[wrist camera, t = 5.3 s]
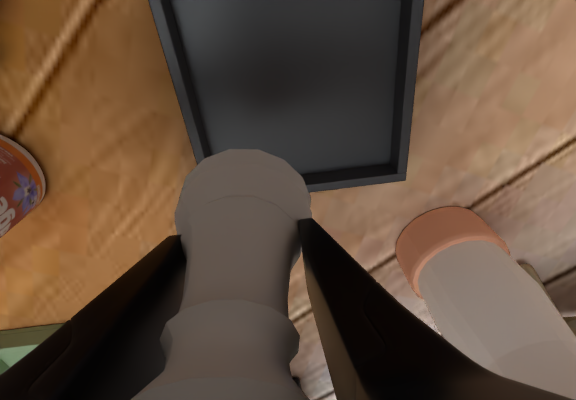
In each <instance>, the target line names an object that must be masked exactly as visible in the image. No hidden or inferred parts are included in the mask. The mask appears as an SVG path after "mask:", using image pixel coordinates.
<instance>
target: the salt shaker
mask: <svg viewBox="0 0 576 400" xmlns="http://www.w3.org/2000/svg"><path fill="white" fill-rule="evenodd" d="M395 251H396V256H397V260H398V262H399V264H400V266H401V268H402V270H403V272H404V274H405V276H406V278H407V280H408V282H409V284H410V286H411V288H412V289H413V291H414V292H415V293H416V294H417V296H418V297H420V298H421V299H423V300H424V302H425V304H426V306H427V308H428V310H429V312H430V314H431V316H432V318H433V320H434V322H435V324H436V326H437V328H438V330H439V332H440V333H441V334H442V336H443V337H444V338H445V340H447V341H448V342H449V343H451V344H452V345H453V346H454V347H456V348H457V349H458V350H460V351H461V352H462V353H463V354H465V355H466V356H467V357H469V358H470V359H471V360H473V361H474V362H476V363H477V364H479V365H481V366H482V367H484V368H486V369H488V370H489V371H491V372H493V373H496V374H498V375H500V376H503V377H505V378H508V379H511V380H515V381H518V382H521V383H524V384H527V385H530V386H533V387H537V388H540V389H543V390H546V391H549V392H552V393H555V394H559V395H562V396H565V397H568V398H571V399H574V400H576V336H575V335H574V333H573V332H572V331H571V329H570V328H569V326H568V325H567V323H566V322H565V321H564V319H563V318H562V316H561V315H560V313H559V312H558V311H557V309H556V308H555V306H554V305H553V303H552V302H551V301H550V299H549V298H548V296H547V295H546V293H545V292H544V291H543V289H542V288H541V286H540V285H539V284H538V283H537V282H536V281H535V280H534V279H533V278H532V277H531V276H530V275H529V274H528V273H527V272H526V271H525V270H524V269H523V268H522V267H521V266H520V265H519V264H518V263H517V262H515V261H514V260H513V259H512V258H511V257H510V252H509V250H508V247H507V245H506V243H505V242H504V241H503V240H502V239H501V238H500V237H499V236H498V235H497V234H496V233H495V232H494V231H493V230H492V229H491V228H490V227H489V226H488V225H487V224H486V223H485V222H484V221H483V220H482V219H481V218H480V217H479V216H478V215H476V214H475V213H474V212H472V211H471V210H469V209H465V208H461V207H442V208H439V209H435V210H432V211H429V212H426V213H425V214H423V215H421V216H419V217H418V218H416V219H414V220H413V221H412V222H411V223H410V224H409V225H408V226H407V227H406V228H405V229H404V230H403V232H402V233H401V235H400V237H399V238H398V240H397V245H396V250H395Z"/></svg>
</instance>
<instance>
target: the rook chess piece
mask: <svg viewBox="0 0 576 400" xmlns="http://www.w3.org/2000/svg"><path fill="white" fill-rule="evenodd" d="M310 203H311V197H310V195H309V192H308V190H307V187H306V185H305V182H304V180H303V177H302V176H301V175H300V174H299V173H298V172H297V171H295V170H294V169H293V168H292V167H291V166H290V165H289V164H288V163H287V162H286V161H285V160H284V159H281V158H279V157H276V156H274V155H271V154H269V153H266V152H264V151H261V150H258V149H228V150H226V151H223V152H220V153H218V154H215V155H212V156H210V157H207V158H205V159H203V160H202V161H201V162H200V163H199V164H198V165H197V166H196V167H195V168H194V169H193V170H192V171H191V172H190V173H189V174H188V175H187V176H186V178H185V181H184V185H183V188H182V191H181V194H180V197H179V201H178V204H177V207H176V210H175V224H176V229H177V235H180V234H182V236H181V244H182V249H183V252H184V255H185V258H186V260H187V265H186V274H185V282H184V291H183V299H182V302H181V306H180V309H179V313H178V314H177V315H175V316H174V317H173V318H171V319H170V320H169V321H167V322H166V324H165V327H164V330H163V332H162V335H161V337H160V342H161V345H162V349H163V352H164V355H165V357H166V364H165V369H164V371H163V372H162V373H161V374H160V375H159V376H158V377H157V378H155V379H154V380H153V381H152V382H151V383H150V384H148V385H147V386H146V387H145V388H144V389H143V390H141V391H140V392H139V393H138V394H137V395H136V396H134V397H133V398H132V399H131V400H309V398H308V397H307V396H306V395H305V394H304V392H303V391H302V390H301V389H300V387H299V386H298V385H297V384H296V383H295V381H294V380H293V379H292V377H291V372H290V367H289V363H290V362H291V360H292V359H293V358H294V357H295V355H296V354H297V353H298V349H299V339H300V335H299V333H298V332H297V330H296V328H295V327H294V325H293V323H292V321H291V320H290V319H289V316H288V291H289V280H290V272H291V269H292V268H293V266H294V265H295V263H296V261H297V260H298V258H299V257H300V254H301V252H302V247H301V237H300V230H299V222H298V221H299V220H300V219H305V218H312V212H311V210H310Z"/></svg>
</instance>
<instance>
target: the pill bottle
mask: <svg viewBox="0 0 576 400" xmlns="http://www.w3.org/2000/svg"><path fill="white" fill-rule="evenodd" d="M44 194H45V178H44V175H43V172H42V170H41V168H40V166H39V165H38V163H37V162H36V160H35V159H34V158H33V157H32V155H31V154H30V153H29V152H28V151H26V150H25V149H24V148H23V147H21V146H20V145H19V144H17V143H16V142H14V141H12V140H11V139H9V138H7V137H4V136H2V135H0V238H1V237H2V236H3V235H4V234H6V233H7V232H8V231H9V230H10V229H11V228H12V227H14V226H15V225H16V224H17V223H18V222H19V221H21V220H22V219H23V218H24V217H25V216H26V215H28V214H29V213H30V212H31V211H32V210H33V209H34V208H35V207H36V206H37V205H38V204H39V203H40V202H41V201H42V199H43V197H44Z"/></svg>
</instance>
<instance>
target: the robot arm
mask: <svg viewBox="0 0 576 400" xmlns="http://www.w3.org/2000/svg"><path fill="white" fill-rule="evenodd" d="M298 222H299V230H300V237H301V247H302V254H303V261H304V269H305V276H306V284H307V290H308V295H309V299H310V303H311V306H312V310H313V314H314V317H315V321H316V325H317V328H318V332H319V336H320V340H321V343H322V347H323V351H324V354H325V358H326V362H327V365H328V369H329V373H330V376H331V380H332V384H333V387H334V391H335V395H336V399H337V400H574V399H571V398H568V397H565V396H562V395H559V394H555V393H552V392H549V391H546V390H543V389H540V388H537V387H533V386H530V385H527V384H524V383H521V382H518V381H515V380H511V379H508V378H505V377H503V376H500V375H498V374H496V373H493V372H491V371H489V370H488V369H486V368H484V367H482V366H481V365H479V364H477V363H476V362H474V361H473V360H471V359H470V358H469V357H467V356H466V355H465V354H463V353H462V352H461V351H460V350H458V349H457V348H456V347H454V346H453V345H452V344H451V343H449V342H448V341H447V340H445V339H444V338H443V337H442V336H440V335H439V334H438V333H436V332H435V331H434V330H433V329H431V328H430V327H429V326H427V325H426V324H425V323H424V322H422V321H421V320H420V319H419V318H417V317H416V316H415V315H414V314H412V313H411V312H410V311H409V310H408V309H406V308H405V307H404V306H403V305H401V304H400V303H399V302H398V301H397V300H396V299H395V298H394V297H393V296H392V295H390V294H389V293H388V292H387V291H386V290H385V289H384V288H383V287H382V286H381V285H380V284H379V283H378V282H376V280H375V279H374V278H373V277H372V276H371V275H370V274H369V273H368V272H367V271H366V270H365V269H364V268H363V267H362V266H361V265H360V264H359V263H358V262H357V261H355V260H354V259H353V258H352V257H351V256H350V255H349V254H348V253H347V252H346V251H345V250H344V249H343V248H342V247H341V246H340V245H339V244H338V243H337V242H336V241H335V240H334V239H333V238H332V237H331V236H330V235H329V234H328V233H327V232H326V231H325V230H324V229H323V228H322V227H321V226H320V225H319V224H318V223H317V222H316V221H315V220H314V219H313V218H305V219H300V220H299V221H298ZM181 236H182V234H180V235H172V236H169V237H167V238H166V239H165V240H164V241H162V242H161V243H160V244H159V245H158V246H156V247H155V248H154V249H153V250H152V251H151V252H149V253H148V254H147V255H146V256H145V257H143V258H142V259H141V260H140V261H139V262H137V263H136V264H135V265H134V266H133V267H132V268H130V269H129V270H128V271H127V272H126V273H124V274H123V275H122V276H121V277H120V278H118V279H117V280H116V281H115V282H114V283H112V284H111V285H110V286H109V287H108V288H107V289H105V290H104V291H103V292H102V293H101V294H99V295H98V296H97V297H96V298H95V299H93V300H92V301H91V302H90V303H89V304H87V305H86V306H85V307H84V308H83V309H81V310H80V311H79V312H78V313H77V314H76V315H74V316H73V317H72V318H71V320H68V321H67V322H66V323H65V324H64V325H62V326H61V327H60V328H59V329H58V330H56V331H55V332H54V333H53V334H52V335H50V336H49V337H48V338H47V339H45V340H44V341H43V342H42V343H41V344H39V345H38V346H37V347H36V348H34V349H33V350H32V351H31V352H29V353H28V354H27V355H25V356H24V357H23V358H21V359H20V360H19V361H17V362H16V363H15V364H14V365H12V366H11V367H10V368H8V369H7V370H6V371H4V372H3V373H2V374H0V400H131V399H132V398H133V397H134V396H136V395H137V394H138V393H139V392H140V391H141V390H143V389H144V388H145V387H146V386H147V385H148V384H150V383H151V382H152V381H153V380H154V379H155V378H157V377H158V376H159V375H160V374H161V373H162V372H163V371H164V369H165V364H166V357H165V355H164V352H163V349H162V345H161V342H160V337H161V335H162V332H163V330H164V327H165V324H166V322H167V321H169V320H170V319H171V318H173V317H174V316H175V315H177V314H178V313H179V309H180V306H181V302H182V299H183V291H184V282H185V274H186V265H187V260H186V258H185V255H184V252H183V249H182V244H181ZM292 379H293V380H294V381H295V383H296V384H297V385H298V386H299V387H300V389H301V385H300V380H299V378H297V377H294V378H292Z"/></svg>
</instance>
